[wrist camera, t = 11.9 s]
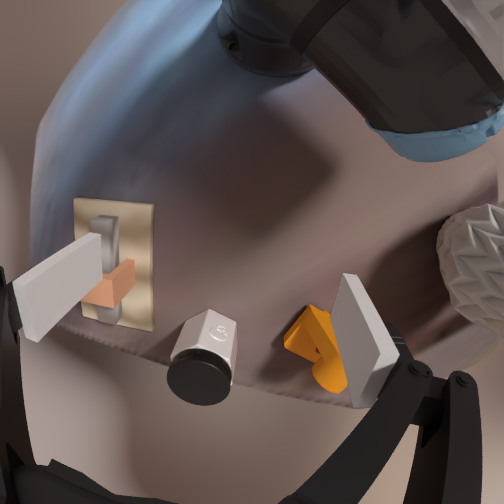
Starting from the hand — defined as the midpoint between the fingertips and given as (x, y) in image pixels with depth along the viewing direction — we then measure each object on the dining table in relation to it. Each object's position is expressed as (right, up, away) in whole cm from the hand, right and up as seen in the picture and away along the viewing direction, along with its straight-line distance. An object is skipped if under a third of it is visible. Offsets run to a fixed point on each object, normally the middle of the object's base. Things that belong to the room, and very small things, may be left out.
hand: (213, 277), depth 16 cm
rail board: (-19, -1, +28) cm, 34 cm away
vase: (+34, +3, +25) cm, 42 cm away
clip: (-19, -1, +27) cm, 33 cm away
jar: (-4, -11, +31) cm, 33 cm away
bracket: (+13, -11, +31) cm, 35 cm away
